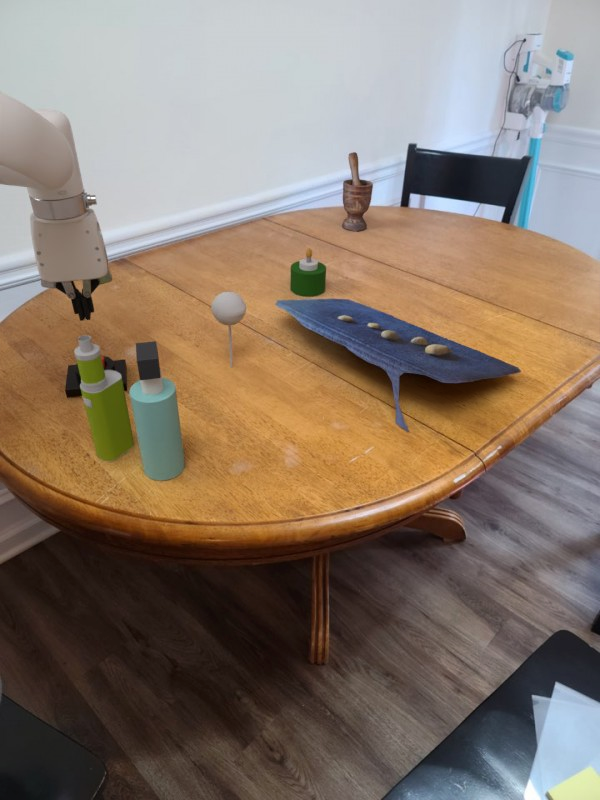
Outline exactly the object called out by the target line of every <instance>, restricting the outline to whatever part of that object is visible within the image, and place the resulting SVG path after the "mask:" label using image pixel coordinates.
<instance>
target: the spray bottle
mask: <svg viewBox="0 0 600 800" xmlns="http://www.w3.org/2000/svg"><path fill="white" fill-rule="evenodd" d="M158 351H159V350H158V344H157V340H153V341H143V342H135V352H136V353H135V354H136V366H137V371H138V378H139V380H138V381H136V382H134V383H133V384H132V385H131V387H130V388H129V392H128V393H129V398H130V403H131V408H132V409H131V410H132V414H133V420H134V425H135V431H136V435H137V443H138V447H139V453H140V458H141V463H142V464H141V465H142V471H143V473H144V475H145V476H146V477H147V478H148V479H150V480H152V481H153V480H154V481H160V482H163V481H169V480H173V479H175V478H176V477H178V476H180V475H181V474H182V473H183V471H184V470H185V467H186V461H185V453H184V445H183V436H182V429H181V420H180V411H179V404H178V397H177V396H178V395H177V387H176V384H175V383H174V381H172V380H171V379H170V378H167V377H164V376H162V370H161V369H162V368H161V366H160V357H159V352H158Z"/></svg>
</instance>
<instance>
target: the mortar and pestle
mask: <svg viewBox="0 0 600 800" xmlns="http://www.w3.org/2000/svg"><path fill="white" fill-rule="evenodd" d="M348 164H349V169H350V175H351V178H349V179H345V180H344V181H343V183H342V204H343V205H342V206H343V209H344V211H345V212H346V213H347V217H346V218H345V219H343V221H342V225H341V227H342V228H343V229H346V230H348V231H352V232H355V233H356V232H359V231H360V232H361V231H364V230H366V229H367V222H366V220H365V219H364V214H365V213H367V212H368V210H369V208H370V205H371V202H372V196H373V195H372V194H373V190H374V189H373V188H374V183H373V182H372V181H370V180H366V179H360V174H359V156H358V153H357V152H356V151H352V152H350V153H348Z"/></svg>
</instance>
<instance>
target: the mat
mask: <svg viewBox="0 0 600 800" xmlns="http://www.w3.org/2000/svg"><path fill="white" fill-rule="evenodd" d="M274 305H275V306H276V307H277V308H278V309H281V310H284V311H285V312H287V313H288V314H289V315H291V316H293V317H294V318H295V320H297V322H298V323H299V324H300V325H302V327H304V328H306V329H308V330H310V331H313V332H314V333H315V334H317V335H320V336H321V337H323V338H325V339H328V340H330V341H331V342H333V343H335V344H338V345H340V346H344V347H346V349H347V350H348V351H350V352H351V353H353V354H354V355H355V356H356V357H357V358H358V357H359V358H360V359H362V360H364V361H365V362H367V363H369V364H372V365H375V366H377V367H378V368H381V369H382V370H383V371H385V372H386V374H387V376H388V378H389V380H390V381H391V386H392V392H393V393H392V394H393V398H394V405H395V425H397V426H399V428H400V427H401V429H403V430H405V431H406V432H407V433H408V434H409V433H411V432H410V431H409V428H408V426H407V423H406V420H405V418H404V415H403V412H402V409H401V406H400V404H399V399H400V398H399V396H400V377H401V376H402V375H404V374H406V373H407V374H415V375H422V376H426V377H429V378H431V379H433V380H435V381H438V382H440V383H444V384H445V383H446V384H460V383H470V382H474V381H475V382H476V381H481V380H485V379H486V380H487V379H496V378H501V377H506V376H511V375H515V374H519V373H520V374H521V372H522V370H521V369H520V368H519V366H516V365H513V364H511V363H508V362H506V361H504V360H501V359H500V358H496V357H494V356H491V355H488V354H487V353H485V352H483V351H480V350H478V349H474V348H472V347H469V346H467V345H464V344H461V343H460V342H458V341H457V342H456V341H454V340H451V339H448V338H447V337H444V336H441V335H439V334H436V333H434V332H432V331H429V330H428V329H425V328H423V327H421V326H417V325H415V324H413V323H411V322H407V321H405V320H403V319H400V318H397V317H395V316H394V315H392V314H389V313H386V312H384V311H381V310H378V309H375V308H373V307H371V306H368V305H366V304H363V303H361V302H358V301H354V300H351V299H348V298H299V299H278V300H277V301H276V302H275V304H274Z"/></svg>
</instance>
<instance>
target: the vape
mask: <svg viewBox="0 0 600 800" xmlns="http://www.w3.org/2000/svg"><path fill="white" fill-rule="evenodd" d="M77 341H78V346H77V347H75V349H74V351H73V353H74V356H75V359H76V364H78V368H79V372H80V376H81V384H80V388H81V393H82V396H81V397H82V401H83V404H84V409H85V412H86V416H87V421H88V426H89V429H90V434H91V437H92V440H93V445H94V449H95V453H96V457H97V458H98V459H99V460H100V461H102V462H105V463H112V462H116V461H117V460H119V459H120V458H121V457H123V456H124V455H126V454H127V453H128V452H129V451H131V450H132V449H134V447H135V439H134V434H133V428H132V424H131V419H130V414H129V408H128V404H127V398H126V391H124V387H123V382H122V376H121V374H120V373H119V372H117V371H114V370H104V367H103V362H102V358H101V355H102V354H101V353H102V352H101V348H100V345H98V344H96V343H93V341H92V336H91V335H88V334H83V335H80V336H78V337H77Z"/></svg>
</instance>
